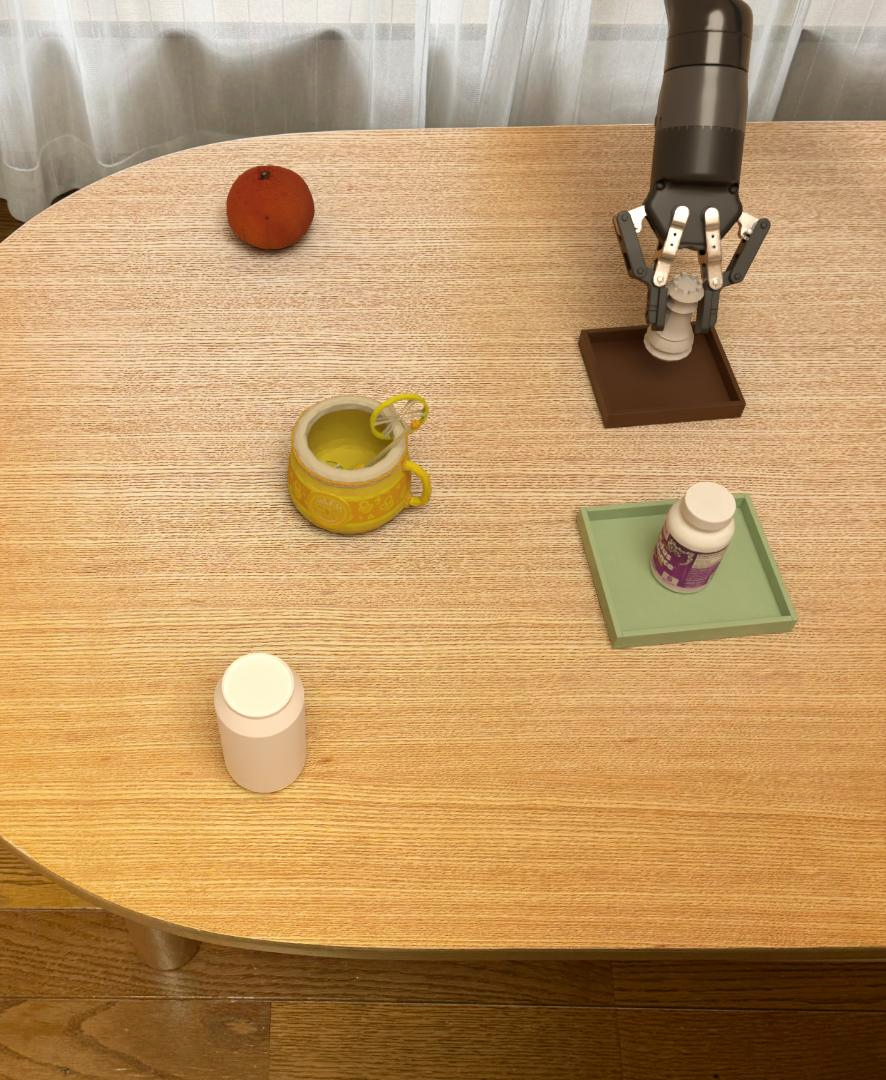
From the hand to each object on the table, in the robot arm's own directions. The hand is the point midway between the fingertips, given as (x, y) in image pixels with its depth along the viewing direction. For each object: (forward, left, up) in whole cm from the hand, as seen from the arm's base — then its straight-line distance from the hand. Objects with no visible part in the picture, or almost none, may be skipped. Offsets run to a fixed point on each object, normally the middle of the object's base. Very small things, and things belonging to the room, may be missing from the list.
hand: (679, 331), depth 104 cm
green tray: (+4, +20, -8) cm, 22 cm away
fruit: (+35, -26, -8) cm, 44 cm away
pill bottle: (+4, +20, -8) cm, 22 cm away
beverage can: (+40, +33, -8) cm, 52 cm away
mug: (+30, +9, -8) cm, 32 cm away
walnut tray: (0, -2, -8) cm, 8 cm away
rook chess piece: (0, -2, -4) cm, 5 cm away
